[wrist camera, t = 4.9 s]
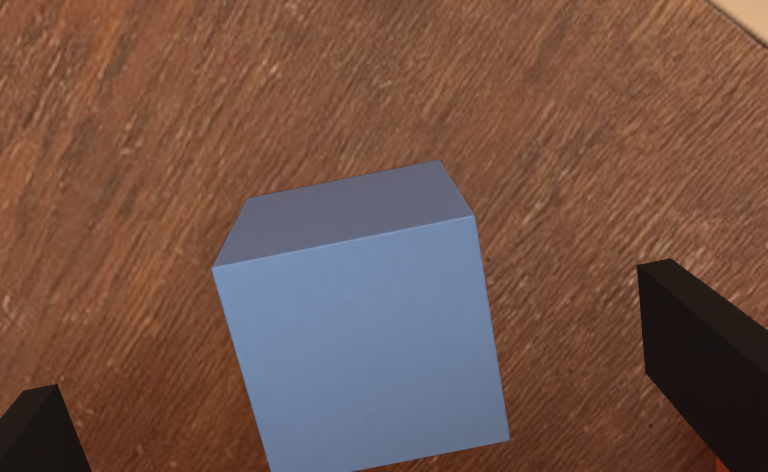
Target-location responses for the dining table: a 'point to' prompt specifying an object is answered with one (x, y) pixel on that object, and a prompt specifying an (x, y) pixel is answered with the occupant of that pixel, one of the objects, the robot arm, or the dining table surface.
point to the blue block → (363, 321)
